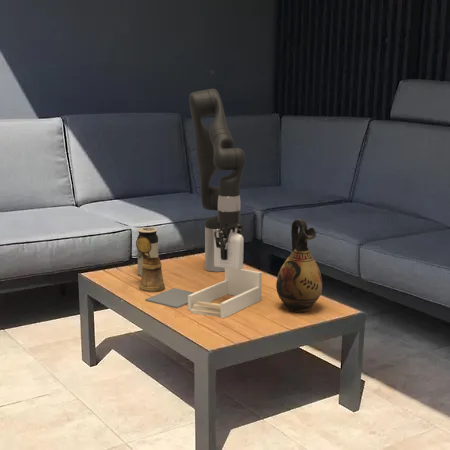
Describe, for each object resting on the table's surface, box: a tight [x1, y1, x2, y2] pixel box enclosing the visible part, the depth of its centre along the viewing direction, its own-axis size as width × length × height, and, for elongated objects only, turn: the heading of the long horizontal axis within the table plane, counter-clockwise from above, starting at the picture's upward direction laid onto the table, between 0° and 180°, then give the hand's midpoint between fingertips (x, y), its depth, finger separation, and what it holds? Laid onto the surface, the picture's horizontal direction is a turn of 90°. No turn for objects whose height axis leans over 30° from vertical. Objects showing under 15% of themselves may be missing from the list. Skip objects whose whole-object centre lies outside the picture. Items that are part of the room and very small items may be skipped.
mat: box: [144, 287, 195, 309], centre depth 250 cm, size 16×14×1 cm
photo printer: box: [214, 232, 245, 270], centre depth 241 cm, size 10×4×12 cm, turn 69°
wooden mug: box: [135, 236, 166, 293], centre depth 261 cm, size 9×14×18 cm, turn 33°
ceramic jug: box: [275, 218, 323, 313], centre depth 239 cm, size 17×15×30 cm
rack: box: [187, 268, 263, 319], centre depth 243 cm, size 23×14×10 cm, turn 145°
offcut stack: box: [190, 301, 221, 318], centre depth 236 cm, size 5×11×3 cm, turn 71°
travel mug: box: [136, 227, 159, 277], centre depth 277 cm, size 8×8×18 cm
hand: (228, 257), depth 242 cm, fingers closed on photo printer, 5 cm apart
